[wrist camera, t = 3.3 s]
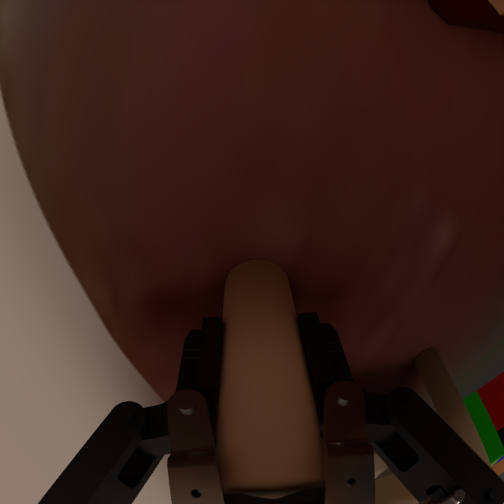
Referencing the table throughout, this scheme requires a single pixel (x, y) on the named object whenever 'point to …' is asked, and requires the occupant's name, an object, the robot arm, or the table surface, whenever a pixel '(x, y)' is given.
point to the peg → (265, 389)
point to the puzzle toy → (489, 416)
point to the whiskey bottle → (472, 13)
